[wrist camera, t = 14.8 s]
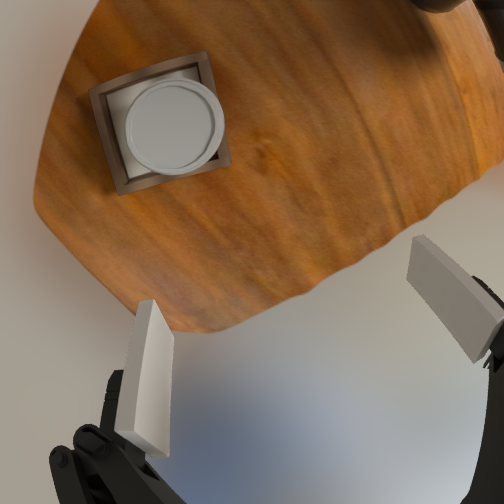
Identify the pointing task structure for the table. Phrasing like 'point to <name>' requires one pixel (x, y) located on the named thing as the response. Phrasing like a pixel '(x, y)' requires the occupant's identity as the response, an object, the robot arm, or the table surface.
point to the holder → (115, 110)
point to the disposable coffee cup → (174, 126)
